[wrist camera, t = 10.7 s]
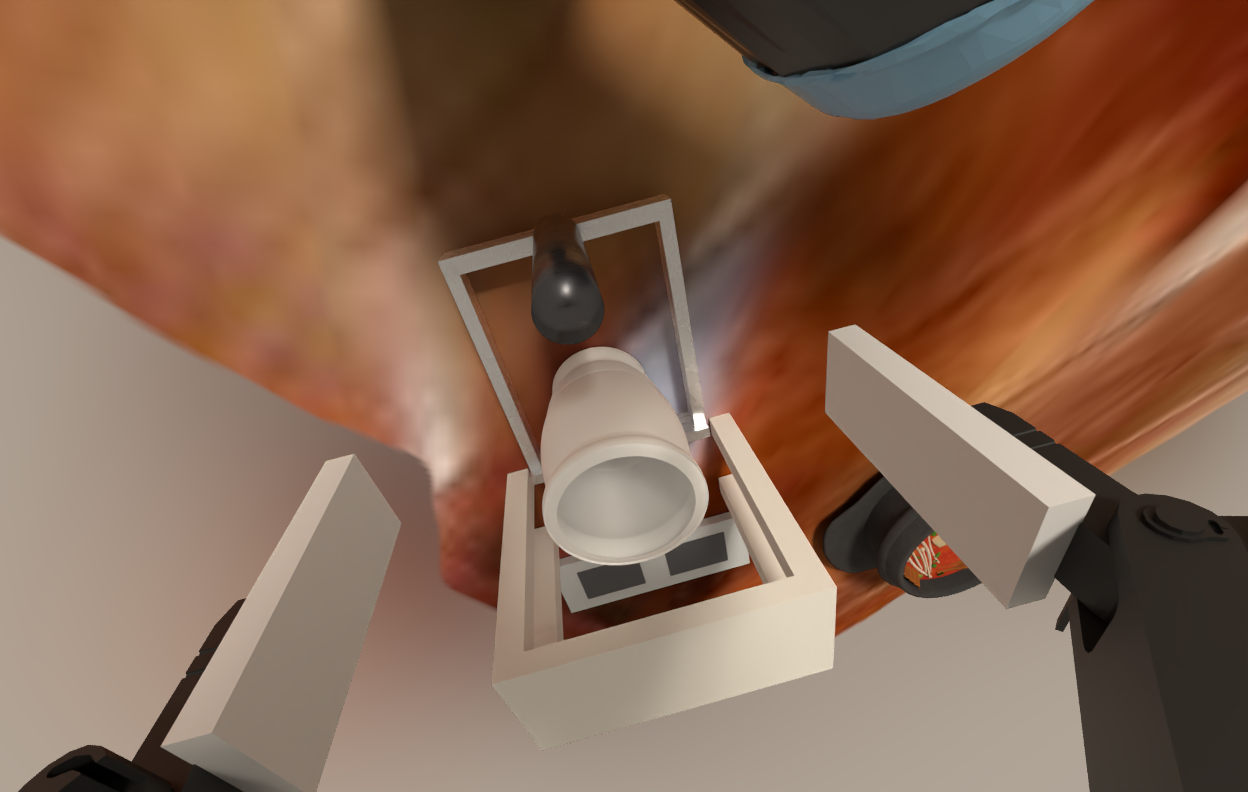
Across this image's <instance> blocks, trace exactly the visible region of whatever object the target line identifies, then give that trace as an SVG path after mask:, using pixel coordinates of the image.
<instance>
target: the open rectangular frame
mask: <svg viewBox="0 0 1248 792" xmlns="http://www.w3.org/2000/svg"><path fill="white" fill-rule="evenodd" d="M709 421H710V427H711V434H712V436H713V438H714V440H715V442H716V444H717V446H718V448H719V449H720V451H721V453H722V455H723V457H724V459H725V461H726V463H727V465H728V467H729V469H730V470H731V472H732V474H731V475H727V476H724V477H720V478H718V480H719V487H720V492H721V494H722V496H723V499H724V501H725V503H726V505H727V507H728V509H729V511H730V512H727V513H723V514H720V515H716V516H712V517H709V518H705V519H703V520H702V521H701V523H700V525H699V526H698V528H697V529H696V530H695V531H694V533H693V534H692V535H691V536H690V537H689V538H688V539H687V540H685V541H684V542H683V543H682V544H680V545H679V546H678V547H676V548H674V549H673V550H671V551H669V552H668V553H666V554H664V555H661V556H659V557H657V558H654V559H651V560H648V561H644V562H640V563H635V564H629V565H602V564H595V563H591V562H587V561H584V560H581V559H579V558H576V557H574V556H569V557H566V558H562V559H559V546H558V545H557V544H556V543H555V542H554V541H553V539H552V538H551V537H550V535H549V533H548V531H547V529H546V527H545V526H544V527H540V528H537V529H534V485H533V483H532V480H531V478H530V472H529V470H528V468H527V469H524V470H520V471H517V472H513V473H509V474H507V487H506V500H505V513H504V526H503V539H502V552H501V565H500V578H499V592H498V605H497V618H496V631H495V644H494V657H493V670H492V683H491V685H492V686H493V687H494V689H495V690H496V691H497V693H498V694H499V695H500V697H501V698H502V699H503V701H504V702H505V703H506V704H507V706H508V707H509V708H510V710H511V711H512V712H513V714H514V715H515V716H516V718H517V719H518V720H519V721H520V723H521V724H522V725H523V727H524V728H525V729H526V730H527V732H528V733H529V734H530V736H531V737H532V738H533V740H534V741H535V742H536V744H537V745H538V746H539V748H540V749H541V750H542V751H544V750H547V749H551V748H554V747H558V746H561V745H564V744H568V743H572V742H575V741H579V740H582V739H586V738H589V737H593V736H596V735H600V734H603V733H607V732H610V731H614V730H617V729H621V728H624V727H628V726H632V725H635V724H638V723H642V722H645V721H649V720H652V719H656V718H659V717H663V716H666V715H670V714H674V713H677V712H681V711H684V710H688V709H691V708H695V707H698V706H702V705H705V704H709V703H712V702H716V701H719V700H723V699H726V698H730V697H734V696H737V695H740V694H743V693H747V692H751V691H755V690H758V689H761V688H765V687H769V686H772V685H776V684H779V683H783V682H786V681H790V680H793V679H797V678H800V677H804V676H807V675H811V674H814V673H818V672H821V671H825V670H828V669H832V668H833V656H834V634H835V613H836V591H837V587H836V585H835V584H834V582H833V580H832V579H831V577H830V576H829V574H828V572H827V571H826V569H825V568H824V566H823V564H822V563H821V561H820V559H819V558H818V556H817V555H816V553H815V551H814V550H813V548H812V546H811V545H810V543H809V542H808V540H807V538H806V537H805V535H804V533H803V532H802V530H801V529H800V527H799V525H798V524H797V522H796V520H795V519H794V517H793V516H792V514H791V512H790V511H789V509H788V507H787V506H786V504H785V503H784V501H783V499H782V498H781V496H780V494H779V493H778V491H777V490H776V488H775V486H774V485H773V483H772V481H771V480H770V478H769V477H768V475H767V473H766V472H765V470H764V468H763V467H762V465H761V464H760V462H759V460H758V459H757V457H756V455H755V454H754V452H753V451H752V449H751V447H750V446H749V444H748V443H747V441H746V439H745V438H744V436H743V434H742V433H741V431H740V430H739V428H738V426H737V425H736V423H735V421H734V420H733V418H732V417H731V415H730V413H726V414H723V415H719V416H715V417H712V418H709ZM748 552H749V554H750V556H751V558H752V560H753V562H754V565H755V567H756V569H757V571H758V573H759V575H760V577H761V579H762V582H763V585H760V586H756V587H752V588H749V589H745V590H742V591H738V592H735V593H731V594H728V595H724V596H720V597H717V598H713V599H710V600H706V601H703V602H699V603H696V604H692V605H688V606H685V607H681V608H678V609H674V610H671V611H667V612H664V613H660V614H656V615H653V616H649V617H646V618H642V619H639V620H635V621H632V622H628V623H625V624H621V625H617V626H614V627H610V628H607V629H603V630H600V631H596V632H593V633H589V634H585V635H582V636H578V637H575V638H571V639H568V640H563V621H562V601H561V592H562V594H563V596H564V598H565V600H566V602H567V604H568V607H569V609H570V611H571V613H574V612H577V611H581V610H584V609H588V608H592V607H595V606H599V605H602V604H606V603H609V602H613V601H617V600H620V599H624V598H627V597H631V596H634V595H638V594H641V593H645V592H649V591H652V590H656V589H659V588H663V587H666V586H670V585H673V584H677V583H681V582H684V581H688V580H691V579H695V578H698V577H702V576H706V575H709V574H713V573H716V572H720V571H723V570H727V569H730V568H734V567H738V566H741V565H745V564H748V563H750V562H749V554H748Z"/></svg>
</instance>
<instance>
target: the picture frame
mask: <svg viewBox="0 0 1248 792" xmlns="http://www.w3.org/2000/svg"><path fill="white" fill-rule="evenodd" d="M653 222H655V227H656V232H657V238H658V243H659V249H660V254H661V260H662V266H663V271H664V277H665V282H666V288H667V294H668V299H669V305H670V310H671V316H672V321H673V327H674V333H675V338H676V344H677V349H678V355H679V361H680V366H681V372H682V377H683V383H684V388H685V394H686V400H687V405H688V412H685V413H681V414H678V415H677V416H678V418H679V420H680V422H681V425H682V427H683V429H684V432H685V435H686V438H687V441H688V442H692V441H695V440H699V439H703V438H706V437H710V430H709V426H708V424H707V423H706V420H705V414H704V407H703V401H702V395H701V388H700V382H699V375H698V369H697V363H696V356H695V350H694V343H693V337H692V331H691V324H690V318H689V312H688V305H687V299H686V292H685V286H684V280H683V273H682V267H681V261H680V254H679V248H678V241H677V235H676V229H675V222H674V216H673V209H672V203H671V198H669V197H668V196H667V195H665V194H661V195H657V196H654V197H650V198H646V199H642V200H639V201H635V202H631V203H628V204H624V205H620V206H617V207H613V208H609V209H605V210H602V211H598V212H594V213H591V214H587V215H583V216H579V217H576V218H572V219H570V218H569V217H567V216H565V215H561V214H551V215H548V216H546V217H544V218H542V219H541V220H540V221H539V222H538V223H537V225H536V227H535V229H531V230H528V231H524V232H520V233H517V234H513V235H509V236H505V237H502V238H498V239H494V240H491V241H487V242H483V243H479V244H476V245H472V246H468V247H465V248H461V249H457V250H454V251H450V252H446V253H443V254H442V255H441V257H440V259H439V260H438V264H439V266H440V268H441V270H442V273H443V275H444V277H445V279H446V282H447V284H448V286H449V288H450V291H451V293H452V295H453V297H454V300H455V302H456V304H457V306H458V309H459V311H460V313H461V315H462V318H463V320H464V322H465V324H466V326H467V329H468V331H469V333H470V335H471V338H472V340H473V342H474V344H475V347H476V349H477V351H478V353H479V356H480V358H481V360H482V362H483V365H484V367H485V369H486V371H487V374H488V376H489V378H490V380H491V383H492V385H493V387H494V389H495V392H496V394H497V396H498V398H499V401H500V403H501V405H502V407H503V410H504V412H505V414H506V416H507V419H508V421H509V423H510V425H511V428H512V430H513V432H514V434H515V437H516V439H517V441H518V443H519V446H520V448H521V450H522V452H523V455H524V457H525V459H526V461H527V464H528V466H529V468H530V478H531V480H532V483H533V485H536V484H540V483H544V478H543V473H542V466H541V451H540V449H539V446H538V444H537V442H536V439H535V437H534V434H533V432H532V430H531V427H530V425H529V422H528V420H527V418H526V415H525V413H524V410H523V408H522V406H521V403H520V401H519V398H518V396H517V394H516V391H515V389H514V386H513V384H512V382H511V379H510V377H509V374H508V372H507V370H506V367H505V365H504V362H503V360H502V358H501V355H500V353H499V350H498V348H497V346H496V343H495V341H494V338H493V336H492V334H491V331H490V329H489V326H488V324H487V322H486V319H485V317H484V314H483V312H482V310H481V307H480V305H479V302H478V300H477V298H476V295H475V293H474V290H473V288H472V286H471V283H470V281H469V278H468V276H467V274H466V273H469V272H472V271H476V270H480V269H483V268H487V267H491V266H494V265H498V264H502V263H506V262H509V261H513V260H517V259H520V258H524V257H528V256H531V255H533V257H532V301H531V314H532V319H533V322H534V324H535V326H536V328H537V329H538V331H539V332H540V333H541V334H542V335H543V336H544V337H546V338H547V339H549V340H551V341H553V342H555V343H559V344H567V345H570V344H577V343H580V342H583V341H585V340H587V339H588V338H590V337H591V336H592V335H594V334H595V332H596V331H597V330H598V329H599V327H600V325H601V323H602V321H603V317H604V303H603V300H602V297H601V294H600V291H599V288H598V285H597V282H596V279H595V276H594V273H593V270H592V267H591V264H590V261H589V258H588V255H587V251H586V248H585V245H584V242H583V241H587V240H591V239H594V238H598V237H602V236H605V235H609V234H613V233H616V232H620V231H624V230H627V229H631V228H635V227H639V226H642V225H646V224H650V223H653Z"/></svg>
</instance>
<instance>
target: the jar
mask: <svg viewBox="0 0 1248 792" xmlns="http://www.w3.org/2000/svg"><path fill="white" fill-rule="evenodd" d="M541 466H542V473H543V478H544V483H545V490H544V494H543V499H542V512H543V519H544V523H545V527H546V529H547V531H548V533H549V535H550V537H551V538H552V539H553V541H554V542H555V543H556V544H557V545H558V546H559V547H560V548H561V549H563V550H564V551H565V552H567V553H569V554H570V555H572V556H574V557H576V558H579V559H581V560H584V561H587V562H591V563H595V564H602V565H629V564H635V563H640V562H644V561H648V560H651V559H654V558H657V557H659V556H661V555H664V554H666V553H668V552H669V551H671V550H673V549H674V548H676V547H678V546H679V545H680V544H682V543H683V542H684V541H685V540H687V539H688V538H689V537H690V536H691V535H692V534H693V533H694V531H695V530H696V529H697V528H698V526H699V525H700V523H701V521H702V520H703V518H704V515H705V513H706V510H707V506H708V500H709V493H708V486H707V483H706V480H705V478H704V476H703V473H702V471H701V469H700V467H699V466H698V464H697V463H696V461H695V460H694V459H693V458H692V457H691V454H690V449H689V445H688V441H687V438H686V435H685V432H684V429H683V427H682V425H681V422H680V420H679V418H678V416H677V415H676V413H675V411H674V410H673V408H672V407H671V405H670V404H669V402H668V401H667V400H666V398H665V397H664V396H663V395H662V393H661V392H660V391H659V390H658V389H657V387H656V386H655V385H654V383H653V382H652V381H651V380H650V379H649V378H648V377H647V376H646V373H645V371H644V369H643V367H642V366H641V364H640V363H639V362H638V361H637V360H636V359H635V358H634V357H632V356H631V355H630V354H628V353H626V352H624V351H622V350H619V349H616V348H612V347H592V348H588V349H584V350H582V351H579V352H577V353H575V354H574V355H572V356H571V357H569V358H568V359H567V360H566V361H565V362H564V363H563V364H562V365H561V366H560V367H559V369H558V371H557V372H556V374H555V377H554V380H553V385H552V397H551V400H550V403H549V407H548V411H547V416H546V419H545V422H544V426H543V431H542V438H541Z"/></svg>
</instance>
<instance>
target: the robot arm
mask: <svg viewBox="0 0 1248 792" xmlns="http://www.w3.org/2000/svg"><path fill="white" fill-rule="evenodd" d="M674 1H675V2H677V3H678V4H679V5H680V6H682V7H683V8H684V9H685V10H687V11H688V12H689V13H690V14H692V15H693V16H694V17H695V18H697V19H698V20H699V21H700V22H702V23H703V24H704V25H705V26H707V27H708V28H709V29H710V30H712V31H713V32H714V33H715V34H717V35H718V36H719V37H720V38H722V39H723V40H724V41H725V42H727V43H728V44H729V45H730V46H731V47H733V48H734V49H735V50H736V51H738V52H739V53H740V54H741V55H742V58H743V61H744V63H745V65H746V66H748V67H749V68H750V69H751V70H752V71H753V72H754V73H755V74H757V75H759V76H760V77H762V78H763V79H766V80H769V81H772V82H776V83H779V84H782V85H783V86H785V87H786V88H787V89H789V90H790V91H792V92H793V93H795V94H796V95H797V96H799V97H800V98H802V99H803V100H804V101H806V102H807V103H809V104H810V105H811V106H813V107H814V108H816V109H818V110H819V111H821V112H823V113H825V114H828V115H832V116H836V117H839V116H842V117H847V118H853V119H857V120H858V119H877V118H883V117H888V116H894V115H898V114H902V113H906V112H909V111H912V110H915V109H918V108H921V107H924V106H927V105H929V104H932V103H934V102H937V101H939V100H941V99H944V98H946V97H948V96H950V95H952V94H954V93H956V92H958V91H960V90H962V89H964V88H966V87H968V86H970V85H972V84H974V83H976V82H978V81H980V80H981V79H983V78H985V77H987V76H988V75H990V74H992V73H994V72H995V71H997V70H999V69H1000V68H1002V67H1004V66H1005V65H1007V64H1009V63H1010V62H1012V61H1013V60H1015V59H1017V58H1018V57H1020V56H1021V55H1023V54H1024V53H1026V52H1027V51H1029V50H1030V49H1032V48H1033V47H1034V46H1036V45H1037V44H1039V43H1040V42H1041V41H1043V40H1044V39H1046V38H1047V37H1049V36H1050V35H1051V34H1053V33H1054V32H1055V31H1057V30H1058V29H1059V28H1061V27H1062V26H1063V25H1065V24H1066V23H1067V22H1068V21H1070V20H1071V19H1072V18H1073V17H1075V16H1076V15H1077V14H1078V13H1080V12H1081V11H1082V10H1083V9H1084V8H1086V7H1087V6H1088V5H1089V4H1090V3H1092V2H1093V1H1094V0H674ZM825 413H826V414H827V415H828V416H829V417H830V418H831V419H832V420H833V421H834V423H835V424H836V425H837V426H838V427H839V428H840V429H841V430H842V431H843V432H844V433H845V434H846V436H847V437H848V438H849V439H850V440H851V441H852V442H853V443H854V444H855V445H856V446H857V447H858V449H859V450H860V451H861V452H862V453H863V454H864V455H865V456H866V457H867V458H868V459H869V461H870V462H871V463H872V464H873V465H874V466H875V467H876V468H877V469H878V470H879V471H880V472H881V474H882V475H883V476H884V477H885V478H886V479H887V480H888V481H889V482H890V483H891V484H892V485H893V487H894V488H895V489H896V490H897V491H898V492H899V493H900V494H901V495H902V496H903V497H904V499H905V500H906V501H907V502H908V503H909V504H910V505H911V506H912V507H913V508H914V509H915V510H916V512H917V513H918V514H919V515H920V516H921V517H922V518H923V519H924V520H925V521H926V522H927V523H928V525H929V526H930V527H931V528H932V529H933V530H934V531H935V532H936V533H937V534H938V535H939V537H940V538H941V539H942V540H943V541H944V542H945V543H946V544H947V545H948V546H949V547H950V548H951V550H952V551H953V552H954V553H955V554H956V555H957V556H958V557H959V558H960V559H961V560H962V561H963V563H964V564H965V565H966V566H967V567H968V568H969V569H970V570H971V571H972V572H973V573H974V575H975V576H976V577H977V578H978V579H979V580H980V581H981V582H982V583H983V584H984V585H985V586H986V587H987V588H988V590H989V591H990V592H991V593H992V594H993V595H994V596H995V597H996V598H997V599H998V601H999V602H1000V603H1001V604H1002V605H1003V606H1004V607H1005V608H1006V609H1008V608H1012V607H1015V606H1019V605H1023V604H1027V603H1030V602H1033V601H1038V600H1041V599H1044V598H1046V596H1047V594H1048V592H1049V589H1050V588H1051V586H1052V583H1053V582H1054V579H1055V578H1056V579H1057V580H1058V581H1059V582H1060V583H1061V584H1062V585H1063V586H1065V587H1066V588H1067V589H1068V590H1069V591H1070V592H1071V595H1070V597H1069V599H1068V601H1067V602H1066V604H1065V606H1064V608H1063V610H1062V612H1061V614H1060V616H1059V617H1058V619H1057V623H1056V628H1055V629H1056V630H1059V631H1062V632H1063V631H1064V629H1065V627H1066V626H1067V624H1068V622H1069V621H1070V629H1071V638H1072V645H1073V654H1074V662H1075V671H1076V679H1077V688H1078V696H1079V705H1080V712H1081V721H1082V730H1083V738H1084V747H1085V755H1086V763H1087V772H1088V779H1089V788H1090V792H1248V516H1217V515H1216V514H1214V513H1213V512H1211V511H1209V510H1207V509H1205V508H1202V507H1200V506H1198V505H1196V504H1193V503H1191V502H1189V501H1185V500H1181V499H1178V498H1174V497H1170V496H1166V495H1154V494H1140V495H1138V494H1136V493H1134V492H1132V491H1131V490H1129V489H1128V488H1126V487H1125V486H1123V485H1122V484H1120V483H1118V482H1117V481H1115V480H1114V479H1112V478H1111V477H1109V476H1108V475H1106V474H1105V473H1103V472H1102V471H1100V470H1099V469H1097V468H1096V467H1094V466H1093V465H1091V464H1090V463H1088V462H1087V461H1085V460H1084V459H1082V458H1081V457H1079V456H1078V455H1076V454H1074V453H1073V452H1071V451H1070V450H1068V449H1067V448H1065V447H1064V446H1062V445H1061V444H1056V443H1055V442H1054V440H1053V439H1052V438H1050V437H1049V436H1047V435H1046V434H1044V433H1043V432H1041V431H1036V428H1035V427H1034V426H1032V425H1030V424H1029V423H1027V422H1026V421H1024V420H1023V419H1021V418H1020V417H1018V416H1017V415H1015V414H1014V413H1012V412H1009V411H1006V410H1004V409H1001V408H998V407H996V406H993V405H990V404H988V403H985V402H984V403H980V404H976V405H972V406H970V405H968V404H967V403H966V402H964V401H963V400H961V399H960V398H959V397H957V396H956V395H954V394H953V393H951V392H950V391H949V390H947V389H946V388H944V387H943V386H942V385H940V384H939V383H937V382H936V381H934V380H933V379H932V378H930V377H929V376H927V375H926V374H925V373H923V372H922V371H920V370H919V369H918V368H916V367H915V366H913V365H912V364H910V363H909V362H908V361H906V360H905V359H903V358H902V357H901V356H899V355H898V354H896V353H895V352H894V351H892V350H891V349H889V348H888V347H886V346H885V345H884V344H882V343H881V342H879V341H878V340H877V339H875V338H874V337H872V336H871V335H869V334H868V333H867V332H865V331H864V330H862V329H861V328H860V327H858V326H857V325H851V326H848V327H844V328H840V329H836V330H832V331H828V352H827V377H826V402H825ZM400 526H401V522H400V520H399V519H398V517H397V516H396V514H395V513H394V512H393V510H392V509H391V507H390V506H389V504H388V503H387V501H386V500H385V498H384V497H383V495H382V494H381V492H380V491H379V489H378V488H377V486H376V485H375V483H374V482H373V481H372V479H371V478H370V476H369V475H368V473H367V472H366V470H365V469H364V467H363V466H362V464H361V463H360V461H359V460H358V458H357V457H356V455H355V454H352V455H348V456H344V457H340V458H336V459H332V460H328V461H326V462H325V464H324V465H323V467H322V469H321V471H320V472H319V474H318V476H317V478H316V479H315V481H314V483H313V485H312V486H311V488H310V490H309V491H308V493H307V495H306V497H305V498H304V500H303V502H302V503H301V505H300V507H299V509H298V510H297V512H296V514H295V515H294V517H293V519H292V521H291V522H290V524H289V526H288V528H287V529H286V531H285V533H284V534H283V536H282V538H281V540H280V541H279V543H278V545H277V547H276V549H275V550H274V552H273V554H272V555H271V557H270V559H269V560H268V562H267V564H266V565H265V567H264V569H263V571H262V572H261V574H260V576H259V578H258V579H257V581H256V583H255V584H254V586H253V588H252V590H251V591H250V593H249V595H248V596H247V598H245V599H242V600H238V601H237V602H236V603H235V604H234V605H233V606H232V608H231V609H230V610H229V611H228V612H227V613H226V614H225V615H224V616H223V617H222V618H221V619H220V620H219V621H218V622H217V624H216V625H215V626H214V628H213V629H212V631H211V632H210V634H209V636H208V637H207V639H206V641H205V642H204V644H203V646H202V647H201V649H200V650H199V652H200V654H199V656H196V657H195V659H194V660H193V662H192V664H191V665H190V667H189V668H188V670H187V672H186V678H183V679H182V680H181V682H180V683H179V685H178V687H177V688H176V690H175V691H174V693H173V695H172V696H171V698H170V700H169V701H168V703H167V704H166V706H165V708H164V710H163V711H162V713H161V714H160V716H159V718H158V719H157V721H156V723H155V724H154V726H153V728H152V729H151V731H150V732H149V734H148V736H147V738H146V739H145V741H144V742H143V744H142V746H141V747H140V749H139V750H138V752H137V754H136V755H135V757H134V759H133V760H132V762H131V761H129V760H127V759H125V758H123V757H121V756H119V755H117V754H115V753H114V752H112V751H110V750H108V749H106V748H104V747H102V746H95V745H94V746H93V745H87V746H84V747H81V748H79V749H76V750H73V751H70V752H69V753H67V754H65V755H64V756H62V757H61V758H59V759H57V760H56V761H54V762H53V763H51V764H49V765H48V766H47V767H46V768H44V769H43V770H42V771H41V772H39V773H38V774H37V775H36V776H35V777H33V778H32V779H31V780H30V781H29V782H28V783H26V784H25V785H24V786H23V787H22V788H21V789H20V790H19V792H316V791H317V788H318V784H319V781H320V778H321V775H322V772H323V768H324V766H325V762H326V759H327V756H328V753H329V750H330V747H331V744H332V740H333V737H334V734H335V731H336V728H337V725H338V721H339V718H340V715H341V712H342V709H343V705H344V702H345V699H346V696H347V693H348V690H349V686H350V683H351V681H352V677H353V674H354V671H355V668H356V665H357V662H358V659H359V655H360V652H361V649H362V646H363V643H364V640H365V636H366V633H367V630H368V627H369V624H370V621H371V618H372V614H373V611H374V608H375V605H376V602H377V599H378V596H379V592H380V589H381V586H382V583H383V579H384V577H385V573H386V570H387V567H388V564H389V561H390V558H391V555H392V551H393V548H394V545H395V542H396V538H397V535H398V532H399V529H400Z"/></svg>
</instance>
